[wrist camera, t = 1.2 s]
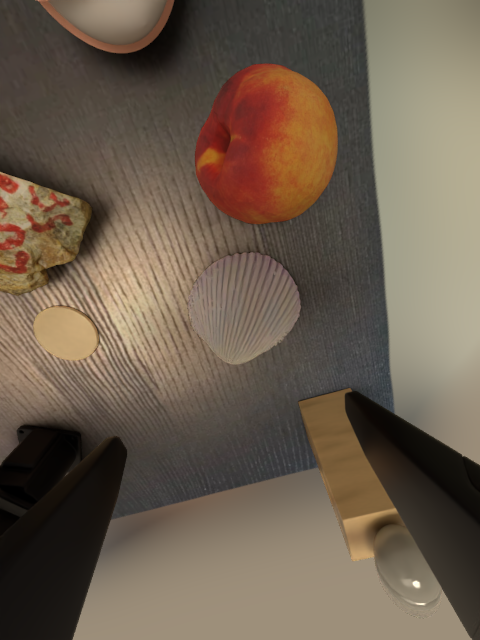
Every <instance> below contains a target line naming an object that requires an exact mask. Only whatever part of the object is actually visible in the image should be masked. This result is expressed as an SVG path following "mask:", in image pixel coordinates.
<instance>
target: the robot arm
mask: <svg viewBox="0 0 480 640" xmlns="http://www.w3.org/2000/svg"><path fill="white" fill-rule="evenodd" d="M345 411H346V414H347V417H348V419H349V421H350V423H351V426H352V428H353V430H354V432H355V435H356V437H357V439H358V441H359V443H360V446H361V448H362V450H363V452H364V454H365V456H366V458H367V460H368V462H369V463H370V465H371V467H372V469H373V470H374V472H375V474H376V475H377V477H378V479H379V481H380V482H381V484H382V486H383V488H384V489H385V491H386V493H387V494H388V496H389V498H390V500H391V501H392V503H393V505H394V507H395V508H396V510H397V512H398V513H399V515H400V517H401V519H402V520H403V522H404V524H405V526H406V527H407V529H408V531H409V532H410V534H411V536H412V538H413V539H414V541H415V543H416V545H417V546H418V548H419V550H420V551H421V553H422V555H423V557H424V558H425V560H426V562H427V564H428V565H429V567H430V569H431V570H432V572H433V574H434V576H435V577H436V579H437V581H438V583H439V584H440V586H441V588H442V589H443V591H444V593H445V595H446V596H447V598H448V600H449V602H450V603H451V605H452V607H453V608H454V610H455V612H456V614H457V615H458V617H459V619H460V621H461V622H462V624H463V626H464V627H465V629H466V631H467V633H468V634H469V636H470V637H471V638H472V640H480V465H479V464H477V463H475V462H474V461H472V460H470V459H469V458H467V457H465V456H463V457H462V455H461V454H460V453H458V452H457V451H455V450H453V449H452V448H450V447H449V446H447V445H445V444H444V443H442V442H440V441H439V440H437V439H435V438H434V437H432V436H430V435H429V434H427V433H425V432H424V431H422V430H420V429H419V428H417V427H415V426H413V425H412V424H410V423H409V422H407V421H405V420H404V419H402V418H400V417H399V416H397V415H395V414H394V413H392V412H390V411H389V410H387V409H385V408H384V407H382V406H380V405H379V404H377V403H376V402H374V401H372V400H371V399H369V398H367V397H366V396H364V395H362V394H361V393H359V392H357V391H352V392H347V393H345ZM17 435H18V440H19V445H18V446H17V447H16V448H15V449H14V450H13V451H12V452H11V453H10V454H9V456H8V457H7V458H6V459H5V460H4V461H3V462H2V464H1V465H0V640H72V639H73V636H74V633H75V630H76V627H77V623H78V620H79V617H80V614H81V611H82V608H83V605H84V602H85V598H86V595H87V592H88V589H89V586H90V583H91V580H92V577H93V573H94V570H95V567H96V564H97V561H98V558H99V555H100V551H101V548H102V545H103V541H104V539H105V536H106V533H107V529H108V526H109V523H110V520H111V517H112V514H113V511H114V507H115V504H116V501H117V497H118V493H119V489H120V485H121V480H122V476H123V471H124V467H125V463H126V458H127V449H126V447H125V446H124V444H123V442H122V441H121V439H120V437H118V436H113V437H108V438H106V439H105V440H104V441H103V442H102V443H101V444H100V445H99V446H97V447H96V448H95V449H94V450H93V451H92V452H91V453H90V454H89V455H88V456H87V457H86V458H84V459H83V460H82V449H81V435H80V433H78V432H72V431H64V430H56V429H47V428H39V427H31V426H21V427H19V428H18V429H17ZM67 472H69V473H68V474H67V475H66V473H67ZM65 475H66V476H65ZM64 476H65V477H64Z"/></svg>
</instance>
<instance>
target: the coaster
mask: <svg viewBox="0 0 480 640" xmlns="http://www.w3.org/2000/svg"><path fill="white" fill-rule="evenodd" d="M33 330H34V334H35V337H36V339H37V341H38V342H39V344H40V345H41V346H42V347H43V348H44V349H45V350H46V351H48V352H49V353H50V354H52V355H54V356H56V357H58V358H61V359H65V360H81V359H84V358H87V357H88V356H90V355H91V354H92V353H93V352H94V351H95V350H96V348H97V346H98V343H99V335H98V331H97V328H96V327H95V325H94V323H93V322H92V321H91V320H90V319H89V318H88V317H87V316H86V315H85V314H83V313H82V312H80V311H78V310H76V309H74V308H71V307H67V306H53V307H49V308H47V309H45V310H43V311H41V312H40V313H39V314H38V315H37V316H36V318H35V320H34V325H33Z"/></svg>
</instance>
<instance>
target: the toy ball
mask: <svg viewBox="0 0 480 640" xmlns="http://www.w3.org/2000/svg"><path fill="white" fill-rule="evenodd" d="M37 1H39V2H40V3H41V5H42V6H43V7H44V8H45V9H46V10H47V11H48V12H49V13H50V14H51V15H52V16H53V17H54V18H55V19H56V20H57V21H58V22H59V23H60V24H61V25H62V26H63V27H65V28H66V29H67V30H68V31H70V32H71V33H72V34H74V35H75V36H76V37H78V38H79V39H81V40H83V41H84V42H86V43H88V44H90V45H92V46H94V47H96V48H98V49H101V50H104V51H108V52H113V53H130V52H134V51H137V50H140V49H142V48H144V47H146V46H147V45H149V44H150V43H151V42H152V41H153V40H154V39H155V38H156V37H157V36H158V35H159V33H160V32H161V31H162V29H163V27H164V26H165V24H166V22H167V20H168V18H169V15H170V13H171V10H172V7H173V4H174V0H37Z"/></svg>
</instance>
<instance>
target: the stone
mask: <svg viewBox="0 0 480 640" xmlns="http://www.w3.org/2000/svg"><path fill="white" fill-rule="evenodd" d="M373 553H374V559H375V566H376V571H377V575H378V578H379V581H380V583H381V585H382V587H383V589H384V591H385V592H386V593H387V595H388V597H389V598H390V599H391V600H392V601H393V603H395V605H397V606H398V607H399V608H400V609H401V610H403V611H404V612H406V613H407V614H409V615H412V616H414V617H418V618H427V617H430V616H432V615H433V614H434V613H436V611H437V609H438V608H439V606H440V603H441V596H442V588H441V586H440V584H439V583H438V581H437V579H436V577H435V576H434V574H433V572H432V570H431V569H430V567H429V565H428V564H427V562H426V560H425V558H424V557H423V555H422V553H421V551H420V550H419V548H418V546H417V545H416V543H415V541H414V539H413V538H412V536H411V534H410V532H409V531H408V529H407V527H406V526H404V525H401V524H395V523H392V524H387V525H384V526H383V527H381V528H380V529H379V530H378V531H377V533H376V535H375V537H374V542H373Z"/></svg>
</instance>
